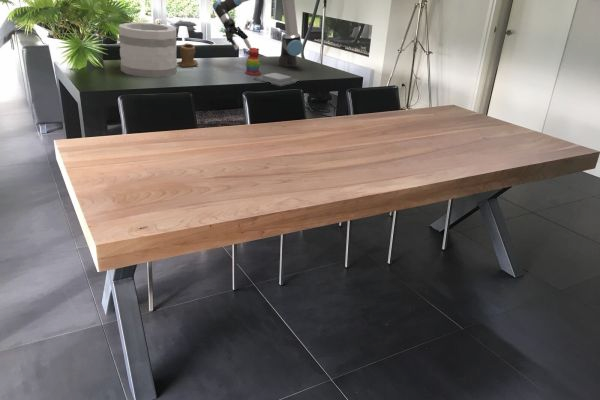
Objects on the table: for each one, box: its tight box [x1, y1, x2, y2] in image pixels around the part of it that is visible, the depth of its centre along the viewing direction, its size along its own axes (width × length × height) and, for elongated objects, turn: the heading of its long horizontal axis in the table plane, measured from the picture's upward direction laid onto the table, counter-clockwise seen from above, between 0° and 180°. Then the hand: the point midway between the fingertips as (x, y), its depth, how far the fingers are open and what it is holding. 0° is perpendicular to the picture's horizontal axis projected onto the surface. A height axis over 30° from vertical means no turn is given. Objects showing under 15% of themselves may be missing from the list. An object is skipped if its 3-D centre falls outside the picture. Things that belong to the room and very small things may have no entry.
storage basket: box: [118, 22, 178, 78], centre depth 319 cm, size 35×35×27 cm
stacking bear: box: [244, 46, 262, 76], centre depth 344 cm, size 11×10×18 cm
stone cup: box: [177, 43, 199, 68], centre depth 346 cm, size 15×12×15 cm
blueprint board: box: [253, 72, 300, 87], centre depth 336 cm, size 22×22×3 cm
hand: (243, 48), depth 344 cm, fingers open, 13 cm apart
